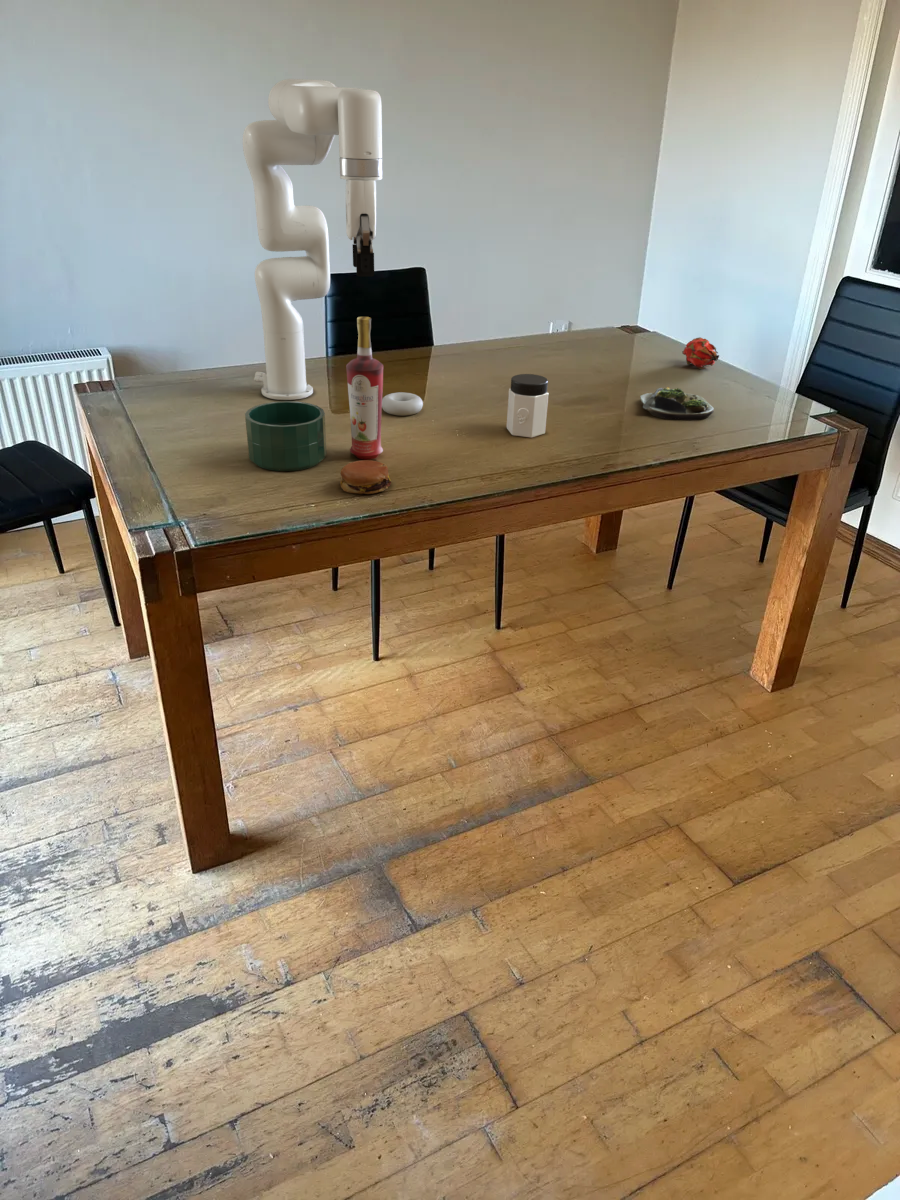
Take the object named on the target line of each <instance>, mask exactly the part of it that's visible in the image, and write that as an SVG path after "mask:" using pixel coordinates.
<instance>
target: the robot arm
mask: <svg viewBox="0 0 900 1200" xmlns="http://www.w3.org/2000/svg"><path fill="white" fill-rule="evenodd" d="M267 103H268V105H267V106H268V108H269V111H270V113H271V115H272V117H274V119H268V120H266V119H264V120H257V121H253V122H250V123H248V124H247V125H246V126H245V128H244V130H243V134H242V151H243V155H244V161H245V163H246V166H247V168H248V171H249V174H250V177H251V180H252V184H253V189H254V190H253V191H254V203H255V204H254V205H255V214H256V227H257V236H258V240H259V243H260V246H261V247H262V248H263V249H264V250H266V251H268V252H275V253H277V252H280V253H282V252H300V251H301V252H302V251H305V254H306V255H305V256H304V255H303V256H283V257H282V256H281V257H271V258H267V259H264V260H262V261H260V262H259V263H258V264H257V265H256V266H255V270H254V281H255V286H256V290H257V294H258V299H259V304H260V312H261V320H262V321H261V323H262V331H263V333H262V334H263V347H264V356H265V357H264V358H265V371H266V372H262V371H256V372H255V373H254V378H253V381H254V382H257V383H262V384H263V386H262V387H261V388H260V389H261V394H262V396H264V397H265V398H266V399H267V398H268V399H271V400H275V401H296V400H302V399H305V398H308V397H310V396H312V395H313V393H314V387H313V386H312V385H311V384H310V383H307V370H306V369H307V368H306V351H305V334H304V333H305V332H304V321H303V317H302V315H301V314H300V313H299V311H298V310H297V309H296V308H295V306H294V305H293V304H292V303H293V302H296V301H303V300H315V299H322V298H324V297H326V296H327V295H328V293H329V292H330V287H331V263H330V262H331V261H330V241H329V240H330V237H329V229H328V227H329V226H328V223H327V222H328V221H327V219H326V216H325V214H324V212H323V211H322V210H321V209H320V208H319V207H317V206H315V205H307V204H306V205H295V201H294V186H293V182H292V180H291V177H290V176H289V175H288V173H287V171H286V170H285V169H284V167H283V166H315V165H319V164H320V165H321V164H322V163H323V162H324V161H325V160H326V159H327V158H328V155H329V153H330V150H331V148H332V145H333V142H334V140H335V137H336V136H338V153H339V154H338V155H339V178H340V179H342V180H345V231H346V236H347V239H349V240H350V241H352V242H353V244H352V245H351V246H352V266H353V267H354V268H356V269H355V270H356V276H357V277H359V278H360V277H362V278H363V277H364V278H365V277H367V278H369V277H374V276H375V252H374V243H373V241H374V240H375V239H376V235H377V234H376V233H377V181H381V180H383V110H382V109H383V106H382V105H383V104H382V97H381V95H380V93H379V92H378V91H377V90H374V89H367V88H366V89H365V88H359V87H345V86H344V87H343V86H336V84H334V83H333V82H331V81H329V80H325V79H308V78H307V79H306V78H305V79H304V78H286V79H282V80H279V81H278V82H276V83H275V84H274V85H273V86H272V87H271V89H270V91H269V94H268V101H267Z"/></svg>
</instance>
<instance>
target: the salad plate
mask: <svg viewBox="0 0 900 1200" xmlns="http://www.w3.org/2000/svg"><path fill="white" fill-rule="evenodd" d="M640 401H641V403H642V409H643V410H646V411H647V412H649V414H650V415H651V416H654V417H657V418H660V419H664V420H665V419H666V420H676V421H697V420H705V419H707V418H708V417H710V416H711V415H712V414H713V413H714V410H715V408H714V407H713V406H712V405H711V404H710V403H709V402H708V401H707V399H705V398H704V397H702V396H701V395H698V394H693V393H687V392H684V391H683V390H682V389H681V388H679V387H677V388H670V387H669V386H666V388H663V387H659V388H656V389H655V392H649V393H648V392H647V393H644V394H642V395H640Z"/></svg>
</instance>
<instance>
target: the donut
mask: <svg viewBox="0 0 900 1200" xmlns="http://www.w3.org/2000/svg"><path fill="white" fill-rule="evenodd" d="M423 407H424V401H423V399H422V398H421V396H419V395H417V394H415V393H411V392H402V391H400V392H392V393H389V394H388V393H387V394H386V395H385V396H383V397H382V410H383V411H384V412H385V413H387V414H389V415H393V416H398V417H399V416H401V417H404V416H412V415H415V414H418V413H419V412H421V410H422V409H423Z"/></svg>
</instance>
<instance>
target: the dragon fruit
mask: <svg viewBox="0 0 900 1200" xmlns="http://www.w3.org/2000/svg"><path fill="white" fill-rule="evenodd" d="M681 352H682V355H684V356H685V361H686V364H687V365H694V366H695V367H696V368H697V369H700V370H706V367H705V366H711V367H713V366H714V364H716V362H717V360H719V359H720V355H719V352H718V351H717V347H715V345H714V344H713V343H711V342H710V340H708V339H706V338H704V337H700V336H699V337H696V338H693V339H691V340H689V342H687V343H686V344H685V347H684V349H683V351H681Z"/></svg>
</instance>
